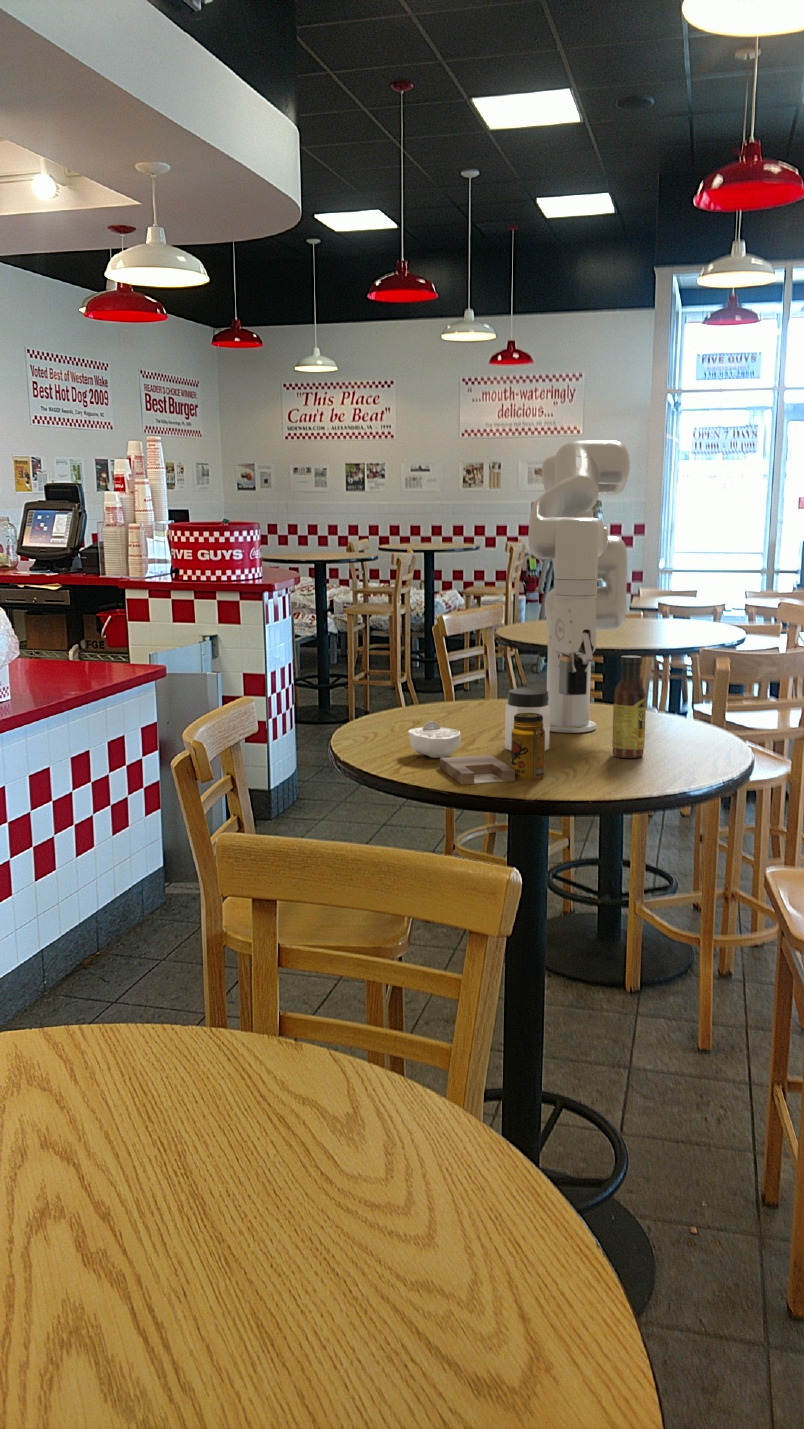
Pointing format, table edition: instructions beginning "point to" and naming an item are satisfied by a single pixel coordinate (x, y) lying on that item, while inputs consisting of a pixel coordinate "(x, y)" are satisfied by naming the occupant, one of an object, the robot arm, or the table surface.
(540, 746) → the condiment
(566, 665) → the grey and orange block
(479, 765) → the notched board
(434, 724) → the cell model
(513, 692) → the jar
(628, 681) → the sauce bottle
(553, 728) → the robot arm
